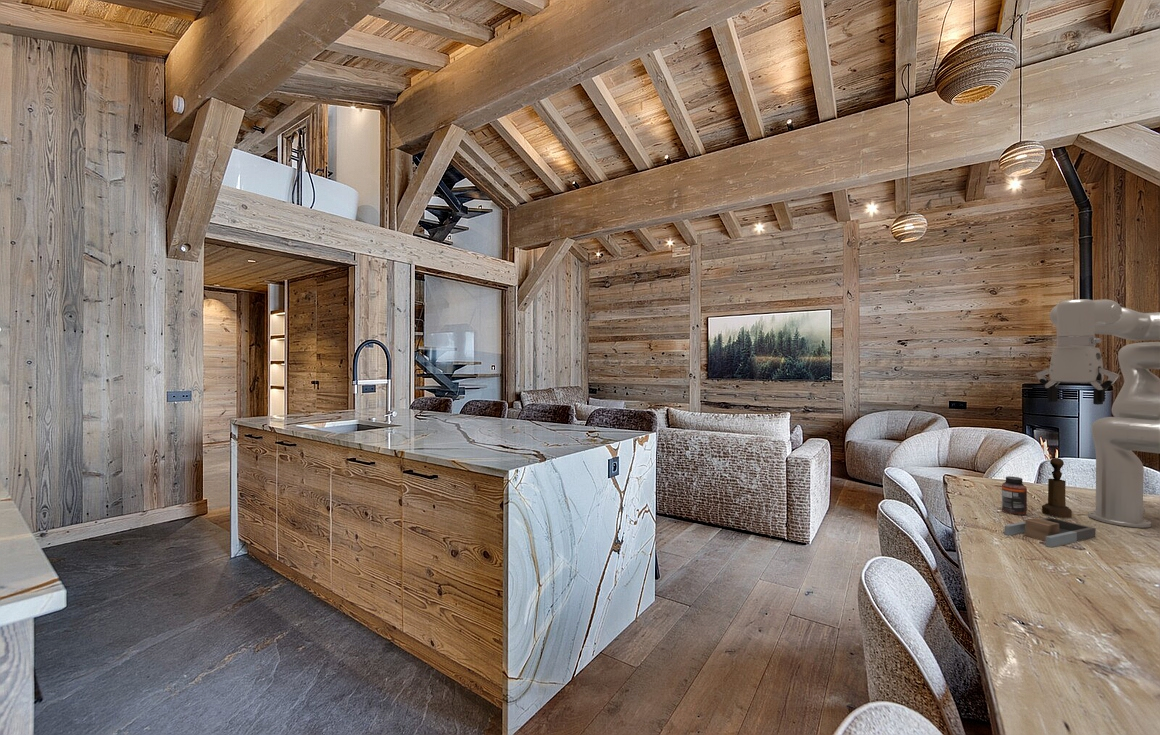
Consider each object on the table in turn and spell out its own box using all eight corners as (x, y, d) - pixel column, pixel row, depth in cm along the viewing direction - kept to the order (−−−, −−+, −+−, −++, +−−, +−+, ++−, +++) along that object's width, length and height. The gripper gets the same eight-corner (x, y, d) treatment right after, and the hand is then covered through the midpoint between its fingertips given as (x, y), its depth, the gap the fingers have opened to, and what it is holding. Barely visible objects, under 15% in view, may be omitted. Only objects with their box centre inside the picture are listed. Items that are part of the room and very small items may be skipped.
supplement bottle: (1016, 510, 153) (1016, 475, 153) (1032, 515, 147) (1032, 480, 147) (996, 509, 154) (997, 475, 154) (1011, 515, 148) (1011, 479, 148)
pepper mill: (1063, 512, 150) (1063, 457, 150) (1077, 519, 144) (1077, 461, 144) (1037, 510, 152) (1037, 455, 152) (1049, 516, 146) (1050, 459, 146)
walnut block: (1036, 533, 132) (1036, 517, 132) (1059, 540, 127) (1059, 523, 127) (1025, 535, 130) (1025, 519, 130) (1048, 542, 126) (1048, 525, 126)
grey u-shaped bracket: (1048, 525, 138) (1048, 517, 138) (1095, 537, 129) (1095, 528, 129) (1004, 534, 131) (1004, 525, 131) (1050, 547, 122) (1050, 537, 122)
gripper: (1126, 342, 127) (1125, 405, 127) (1044, 344, 143) (1043, 400, 143) (1110, 341, 124) (1110, 405, 124) (1029, 344, 140) (1029, 401, 140)
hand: (1074, 402), depth 134 cm, fingers open, 9 cm apart
